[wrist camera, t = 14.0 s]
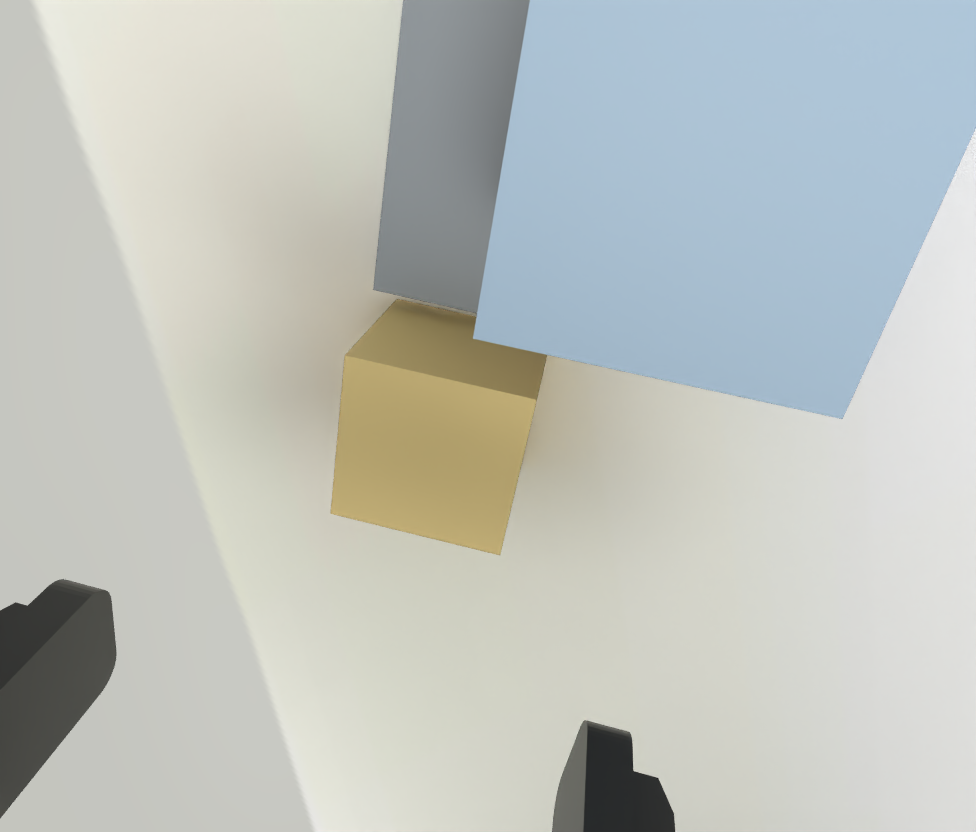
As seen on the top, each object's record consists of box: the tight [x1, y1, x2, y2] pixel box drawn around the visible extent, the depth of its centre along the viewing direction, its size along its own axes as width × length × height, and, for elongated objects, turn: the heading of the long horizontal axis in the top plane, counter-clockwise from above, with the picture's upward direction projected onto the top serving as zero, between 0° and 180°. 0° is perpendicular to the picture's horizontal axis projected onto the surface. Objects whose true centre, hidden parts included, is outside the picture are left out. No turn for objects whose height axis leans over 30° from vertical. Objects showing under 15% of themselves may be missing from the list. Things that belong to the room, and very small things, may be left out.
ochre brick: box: [331, 299, 547, 555], centre depth 21 cm, size 5×5×5 cm
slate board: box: [373, 0, 530, 313], centre depth 18 cm, size 12×14×1 cm
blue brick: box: [473, 0, 976, 419], centre depth 11 cm, size 6×6×5 cm
